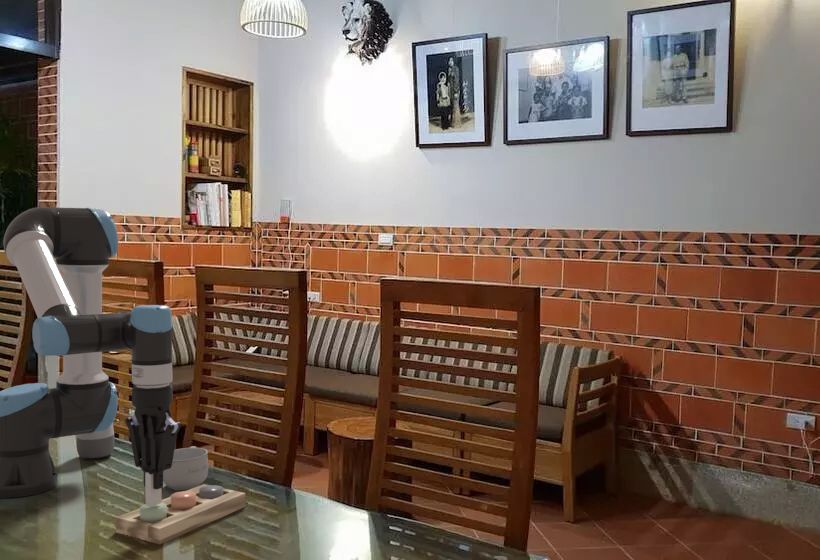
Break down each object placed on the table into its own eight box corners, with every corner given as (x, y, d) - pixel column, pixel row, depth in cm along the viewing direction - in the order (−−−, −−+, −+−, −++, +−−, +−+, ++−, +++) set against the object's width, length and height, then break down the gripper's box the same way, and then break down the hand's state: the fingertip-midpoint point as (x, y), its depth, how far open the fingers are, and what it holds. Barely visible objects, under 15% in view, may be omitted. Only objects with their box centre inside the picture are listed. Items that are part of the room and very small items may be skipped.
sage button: (134, 523, 150) (134, 508, 150) (154, 515, 154) (154, 500, 154) (152, 528, 147) (152, 512, 147) (172, 519, 152) (172, 505, 152)
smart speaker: (97, 463, 197) (97, 409, 197) (68, 459, 200) (67, 406, 200) (122, 453, 206) (121, 402, 206) (93, 450, 209) (93, 399, 209)
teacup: (194, 495, 173) (194, 460, 172) (150, 492, 175) (150, 457, 174) (221, 477, 186) (221, 444, 186) (180, 474, 188) (180, 442, 188)
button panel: (115, 532, 150) (115, 517, 150) (203, 497, 171) (203, 484, 171) (159, 544, 145) (159, 528, 144) (245, 506, 166) (245, 493, 165)
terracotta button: (165, 510, 157) (165, 496, 157) (183, 503, 161) (183, 489, 161) (183, 515, 154) (183, 500, 154) (201, 507, 159) (201, 493, 159)
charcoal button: (194, 504, 164) (194, 490, 164) (210, 497, 168) (210, 484, 168) (211, 508, 162) (211, 494, 161) (228, 501, 166) (228, 487, 166)
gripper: (113, 384, 149) (115, 504, 150) (161, 390, 143) (162, 515, 144) (143, 378, 156) (145, 493, 157) (191, 384, 150) (192, 504, 151)
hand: (153, 504), depth 151 cm, fingers closed
